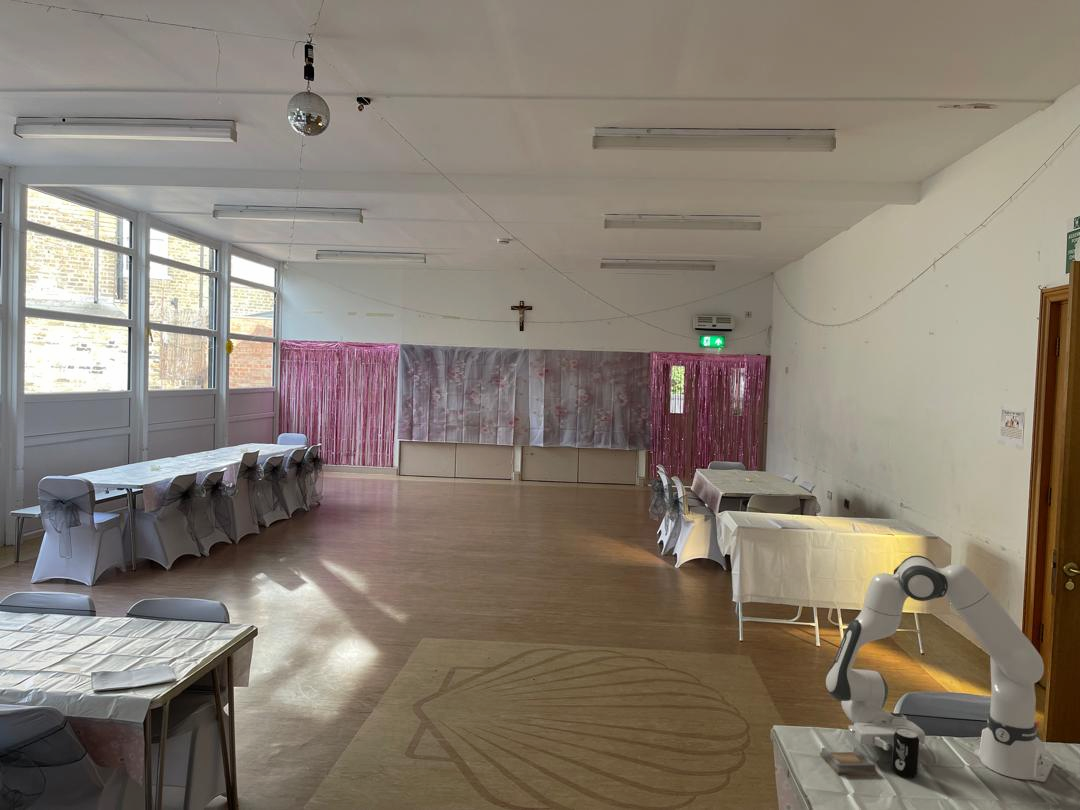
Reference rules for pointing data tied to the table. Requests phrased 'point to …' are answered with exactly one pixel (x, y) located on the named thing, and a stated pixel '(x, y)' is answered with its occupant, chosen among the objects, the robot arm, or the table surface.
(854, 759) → the brown flat square tray
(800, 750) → the table surface
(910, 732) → the beverage can
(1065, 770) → the table surface
